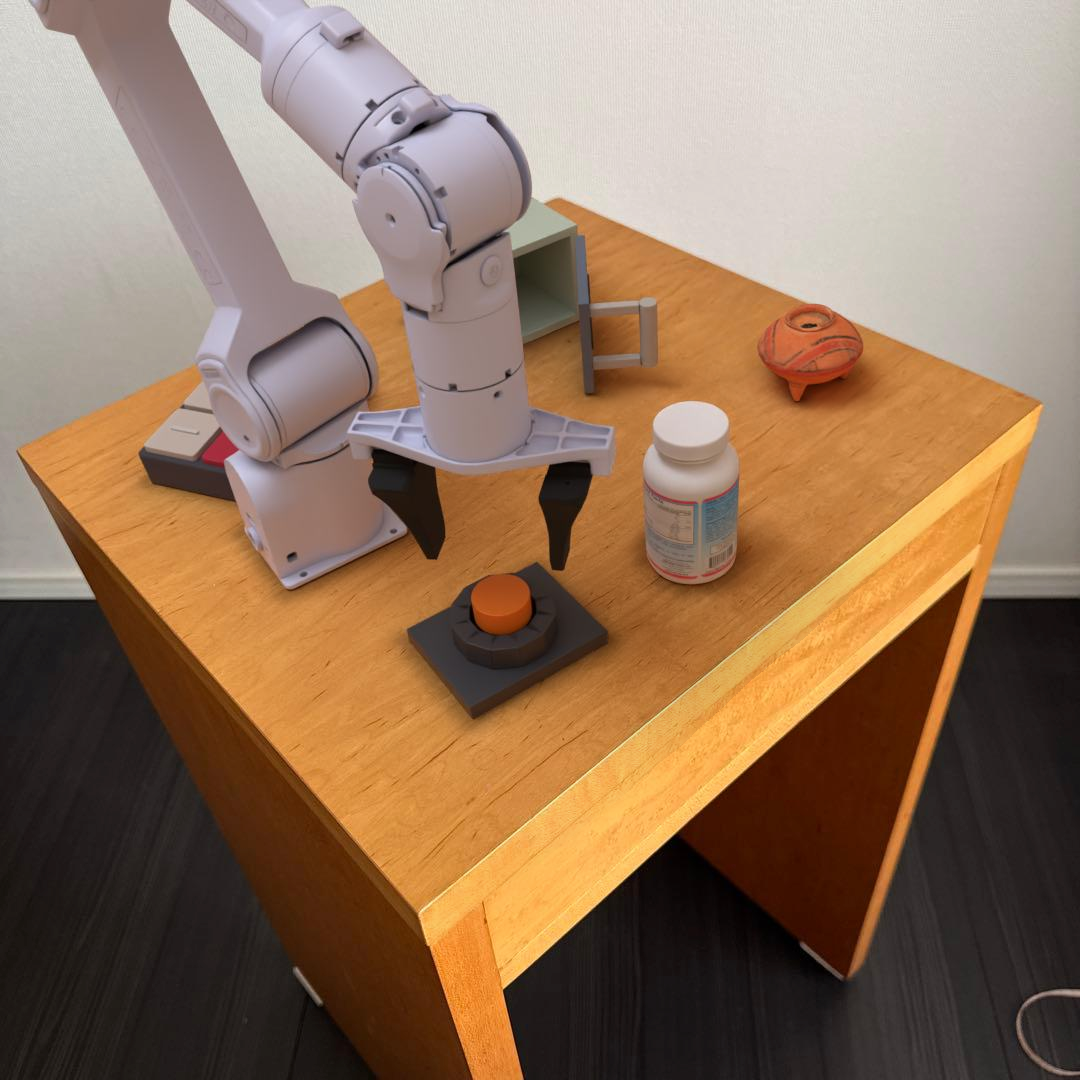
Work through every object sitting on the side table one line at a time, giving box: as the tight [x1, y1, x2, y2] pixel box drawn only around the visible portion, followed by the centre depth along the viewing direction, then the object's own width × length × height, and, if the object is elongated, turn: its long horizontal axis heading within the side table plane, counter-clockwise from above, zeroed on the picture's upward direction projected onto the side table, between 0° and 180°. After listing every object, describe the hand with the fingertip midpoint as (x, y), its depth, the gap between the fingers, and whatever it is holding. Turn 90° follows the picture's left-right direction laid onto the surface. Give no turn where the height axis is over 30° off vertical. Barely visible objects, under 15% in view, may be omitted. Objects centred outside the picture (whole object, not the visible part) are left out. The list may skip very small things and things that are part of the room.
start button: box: [471, 573, 532, 635], centre depth 69 cm, size 4×4×2 cm
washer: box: [503, 196, 579, 345], centre depth 97 cm, size 12×10×9 cm
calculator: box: [138, 345, 269, 502], centre depth 89 cm, size 11×4×15 cm
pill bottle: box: [642, 400, 740, 585], centre depth 72 cm, size 6×6×11 cm
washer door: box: [575, 234, 659, 394], centre depth 91 cm, size 11×6×8 cm, turn 0°
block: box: [406, 561, 609, 720], centre depth 70 cm, size 10×8×3 cm
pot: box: [756, 303, 864, 402], centre depth 87 cm, size 8×8×7 cm
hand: (497, 553), depth 66 cm, fingers open, 7 cm apart
